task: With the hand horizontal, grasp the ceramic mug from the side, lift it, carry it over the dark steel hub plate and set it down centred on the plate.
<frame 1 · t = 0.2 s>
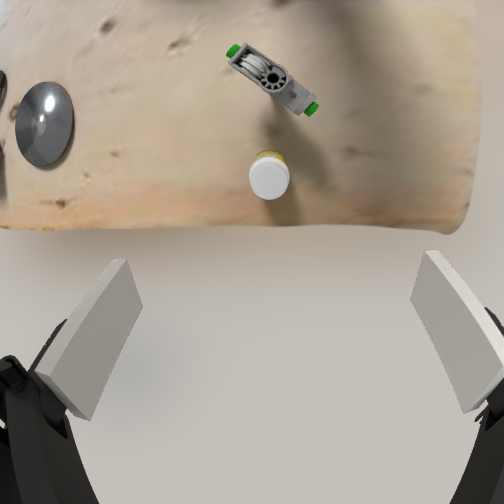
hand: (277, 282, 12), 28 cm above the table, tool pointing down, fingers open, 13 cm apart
mechanical component: (272, 86, 31), on the table
supplement bottle: (269, 166, 37), on the table
hub plate: (43, 123, 34), on the table
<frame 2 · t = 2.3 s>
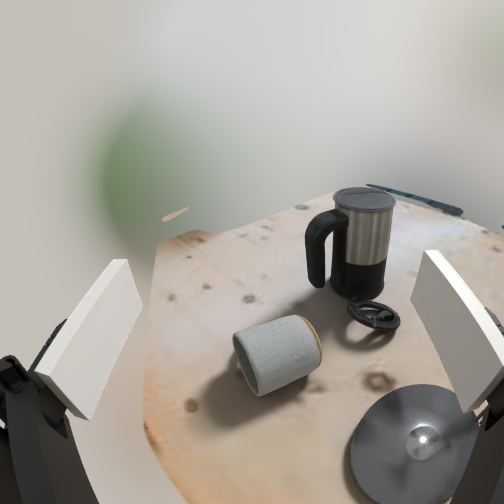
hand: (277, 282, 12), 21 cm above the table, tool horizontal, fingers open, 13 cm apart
milk frother: (364, 299, 40), on the table
ceramic mug: (271, 366, 33), on the table
hub plate: (418, 446, 19), on the table
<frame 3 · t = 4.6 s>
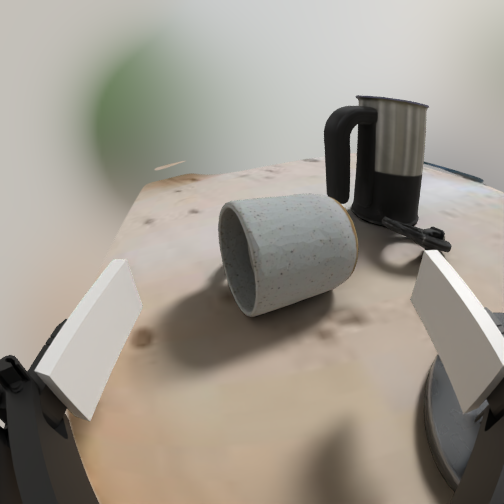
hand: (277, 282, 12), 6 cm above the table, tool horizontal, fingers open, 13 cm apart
milk frother: (397, 228, 30), on the table
ceramic mug: (275, 285, 23), on the table
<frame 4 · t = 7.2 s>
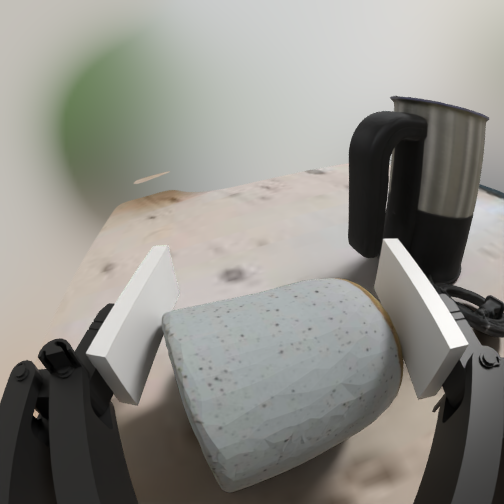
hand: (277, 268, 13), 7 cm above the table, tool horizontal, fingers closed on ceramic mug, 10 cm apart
milk frother: (437, 286, 20), on the table
ceramic mug: (263, 401, 14), on the table, touching gripper
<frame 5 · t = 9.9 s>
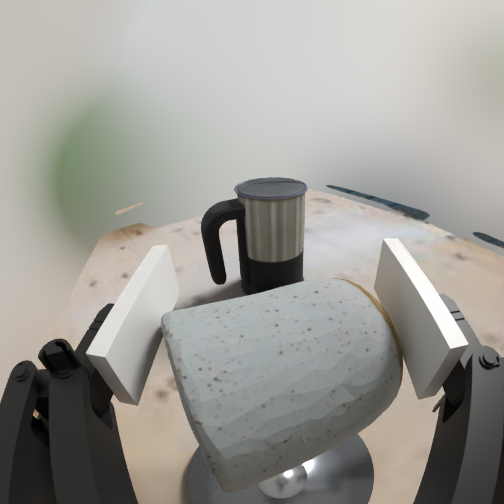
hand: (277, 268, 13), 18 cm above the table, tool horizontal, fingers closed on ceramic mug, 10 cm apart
milk frother: (274, 302, 38), on the table
ceramic mug: (263, 401, 14), point 11 cm above the table, touching gripper
hub plate: (281, 480, 17), on the table
when the fingers open (9 cm above the table, at t = 12.7 s): ceramic mug drops 1 cm, resting on hub plate.
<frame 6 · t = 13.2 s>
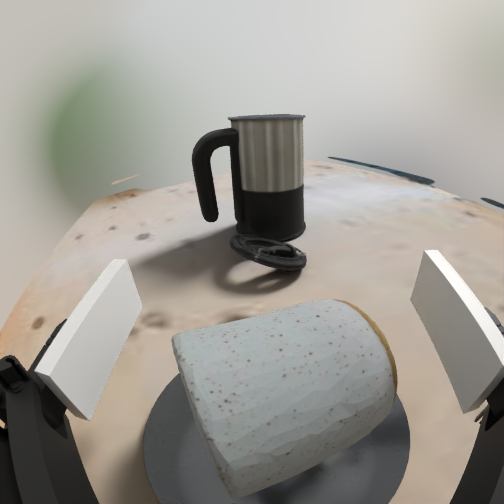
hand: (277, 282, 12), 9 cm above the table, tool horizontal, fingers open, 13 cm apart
milk frother: (272, 243, 34), on the table
ceramic mug: (265, 411, 14), point 1 cm above the table, touching hub plate
hub plate: (277, 440, 13), on the table
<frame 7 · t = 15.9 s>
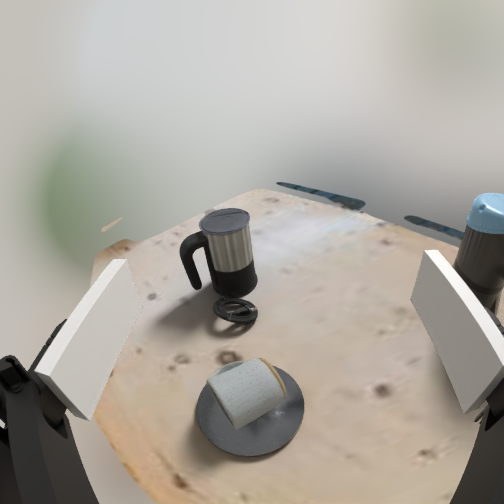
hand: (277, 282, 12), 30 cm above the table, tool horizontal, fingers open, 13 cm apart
milk frother: (237, 296, 55), on the table
ceramic mug: (243, 397, 36), point 1 cm above the table, touching hub plate
hub plate: (250, 409, 35), on the table
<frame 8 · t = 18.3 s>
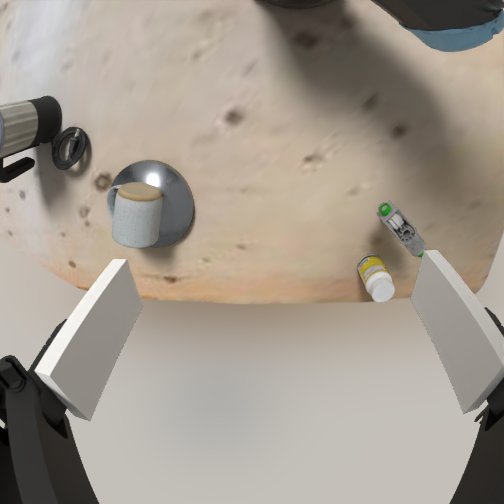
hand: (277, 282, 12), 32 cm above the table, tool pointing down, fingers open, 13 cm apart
milk frother: (58, 128, 37), on the table
mechanical component: (382, 206, 42), on the table
ceramic mug: (139, 204, 43), point 1 cm above the table, touching hub plate
supplement bottle: (368, 264, 48), on the table
hub plate: (150, 204, 44), on the table
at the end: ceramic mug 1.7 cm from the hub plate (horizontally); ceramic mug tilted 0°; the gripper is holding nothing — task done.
